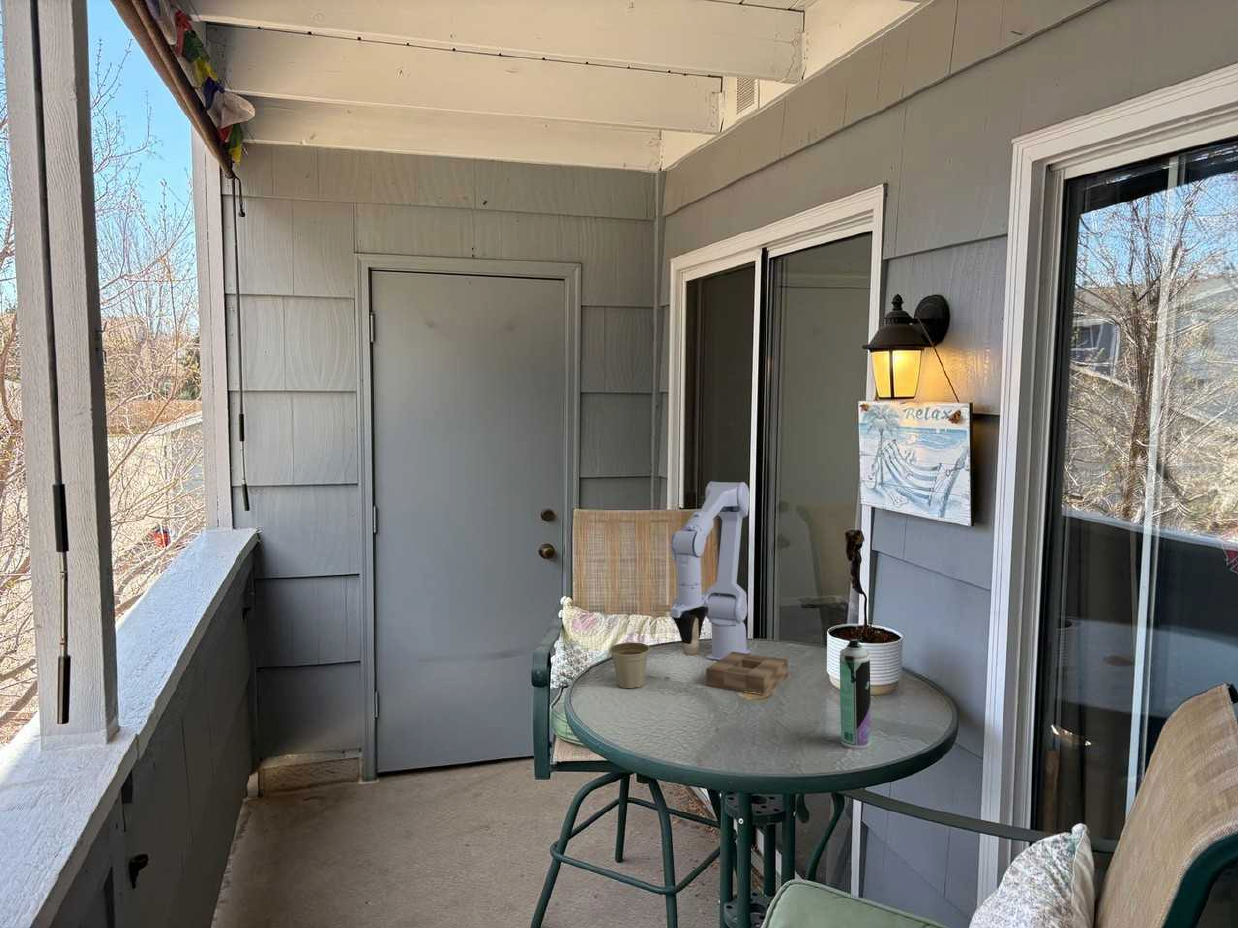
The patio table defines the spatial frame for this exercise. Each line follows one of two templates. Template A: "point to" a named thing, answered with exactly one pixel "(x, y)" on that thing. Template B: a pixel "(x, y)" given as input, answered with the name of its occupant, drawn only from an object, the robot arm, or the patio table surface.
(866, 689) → the spray can
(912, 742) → the patio table surface
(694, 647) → the peg
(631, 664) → the flower pot
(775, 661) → the socket block
